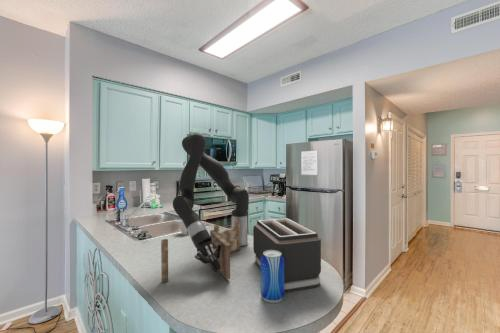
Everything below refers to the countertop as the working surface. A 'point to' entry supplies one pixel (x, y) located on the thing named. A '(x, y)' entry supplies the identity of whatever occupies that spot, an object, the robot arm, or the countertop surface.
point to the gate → (222, 253)
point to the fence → (228, 235)
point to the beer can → (272, 276)
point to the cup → (183, 228)
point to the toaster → (290, 251)
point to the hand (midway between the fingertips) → (218, 270)
